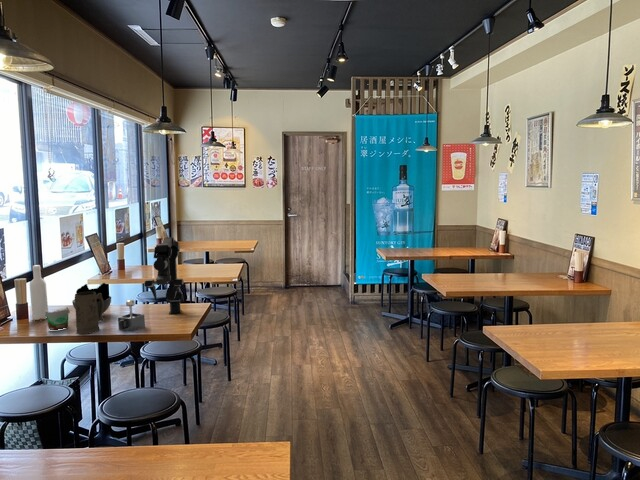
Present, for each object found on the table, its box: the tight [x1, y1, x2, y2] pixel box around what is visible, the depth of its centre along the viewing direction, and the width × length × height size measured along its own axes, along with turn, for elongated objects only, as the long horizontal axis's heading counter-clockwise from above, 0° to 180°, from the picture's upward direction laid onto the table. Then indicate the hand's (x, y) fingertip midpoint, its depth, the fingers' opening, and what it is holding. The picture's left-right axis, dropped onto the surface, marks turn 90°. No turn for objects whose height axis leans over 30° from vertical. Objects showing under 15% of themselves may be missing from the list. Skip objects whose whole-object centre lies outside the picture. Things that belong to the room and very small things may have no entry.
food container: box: [45, 306, 70, 330], centre depth 267 cm, size 12×6×10 cm, turn 148°
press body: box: [117, 312, 146, 332], centre depth 265 cm, size 12×9×6 cm
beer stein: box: [74, 292, 104, 335], centre depth 264 cm, size 15×11×20 cm
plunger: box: [125, 299, 135, 318], centre depth 265 cm, size 7×7×10 cm
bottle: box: [29, 264, 49, 319], centre depth 287 cm, size 8×8×30 cm
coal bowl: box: [71, 282, 112, 315], centre depth 290 cm, size 20×20×19 cm
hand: (164, 299), depth 267 cm, fingers open, 9 cm apart
